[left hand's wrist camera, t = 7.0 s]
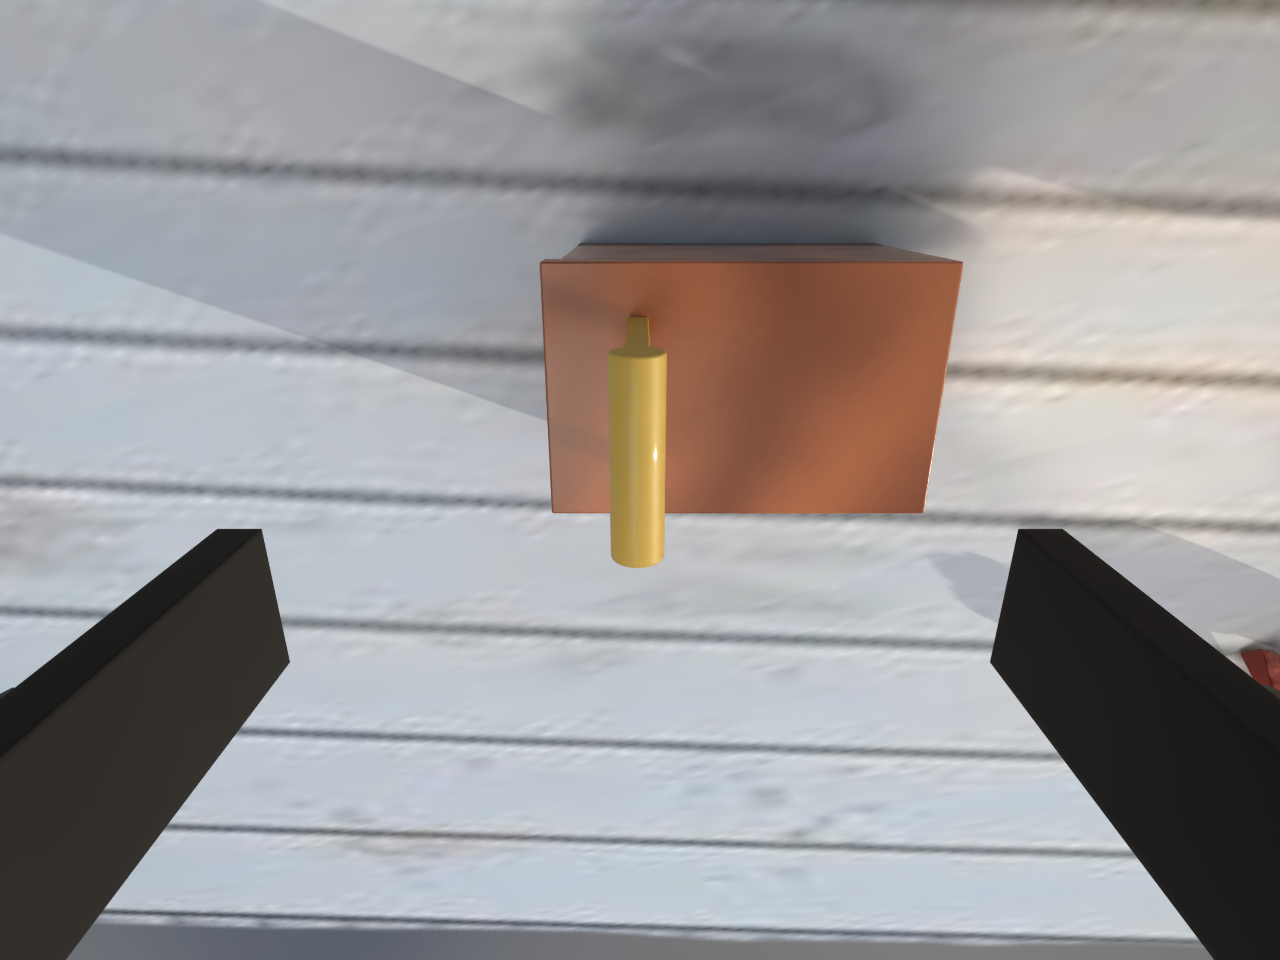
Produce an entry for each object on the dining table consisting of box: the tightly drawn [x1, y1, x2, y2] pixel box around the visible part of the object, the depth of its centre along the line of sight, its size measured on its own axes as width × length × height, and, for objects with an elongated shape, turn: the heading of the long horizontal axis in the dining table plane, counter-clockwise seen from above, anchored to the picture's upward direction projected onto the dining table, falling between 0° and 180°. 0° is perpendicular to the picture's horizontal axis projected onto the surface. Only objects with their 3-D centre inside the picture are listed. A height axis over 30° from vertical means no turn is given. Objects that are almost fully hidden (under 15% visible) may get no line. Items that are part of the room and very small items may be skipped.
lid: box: [540, 259, 963, 568], centre depth 23 cm, size 14×9×8 cm, turn 90°
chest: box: [562, 244, 947, 259], centre depth 31 cm, size 14×9×9 cm
